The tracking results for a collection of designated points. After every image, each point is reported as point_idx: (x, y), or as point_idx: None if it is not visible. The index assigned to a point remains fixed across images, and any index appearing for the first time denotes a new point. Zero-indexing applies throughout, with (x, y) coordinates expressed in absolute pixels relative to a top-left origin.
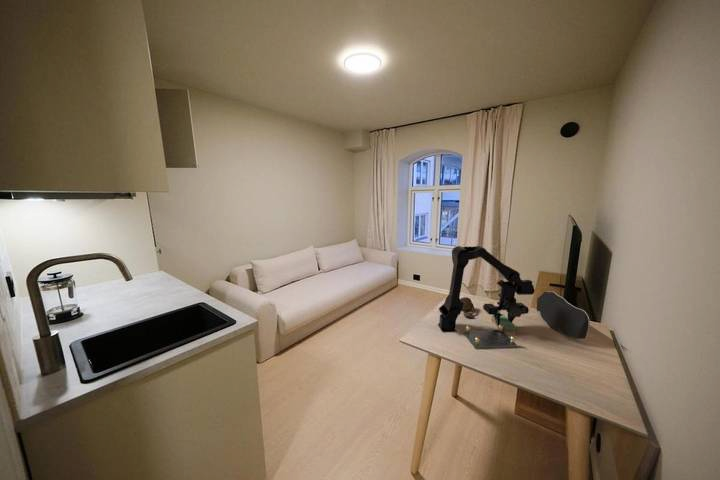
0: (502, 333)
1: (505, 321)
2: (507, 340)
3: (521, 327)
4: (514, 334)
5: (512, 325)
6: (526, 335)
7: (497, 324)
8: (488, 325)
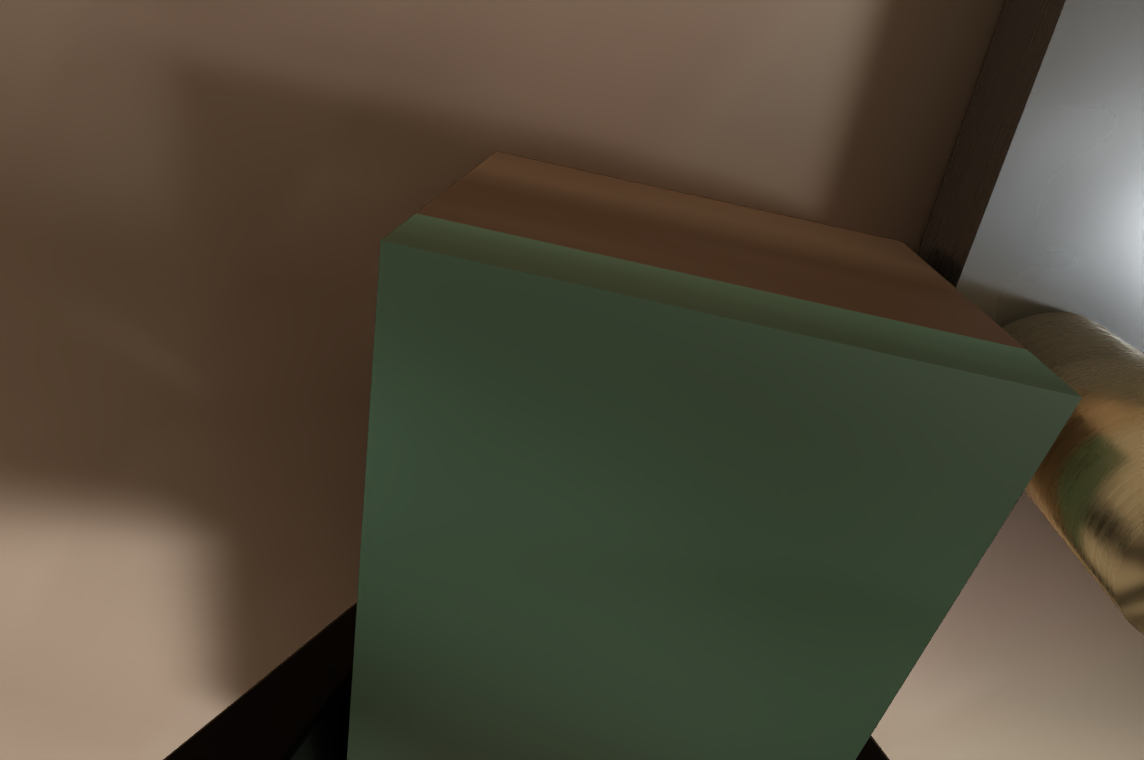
0: (1101, 226)
1: (577, 744)
2: None
3: (67, 465)
4: (526, 166)
5: (484, 449)
6: (106, 62)
7: None
8: (922, 712)
